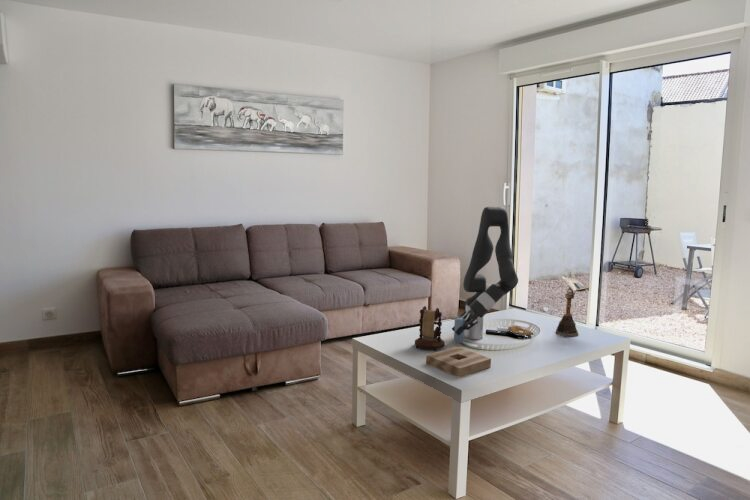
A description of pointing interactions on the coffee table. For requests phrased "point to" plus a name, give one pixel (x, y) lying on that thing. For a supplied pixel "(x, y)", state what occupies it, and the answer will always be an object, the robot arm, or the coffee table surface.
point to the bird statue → (567, 323)
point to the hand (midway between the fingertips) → (455, 332)
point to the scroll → (430, 330)
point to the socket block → (458, 361)
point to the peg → (457, 324)
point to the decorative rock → (519, 330)
